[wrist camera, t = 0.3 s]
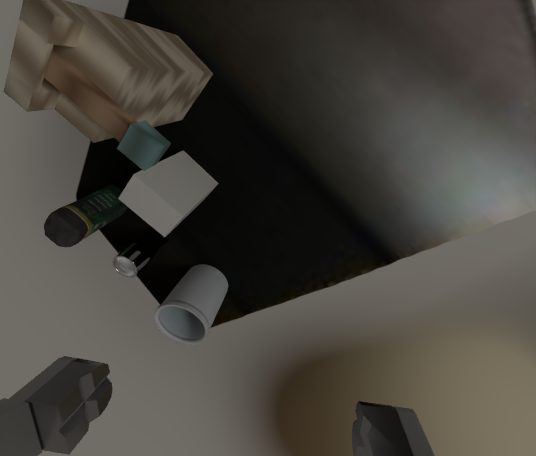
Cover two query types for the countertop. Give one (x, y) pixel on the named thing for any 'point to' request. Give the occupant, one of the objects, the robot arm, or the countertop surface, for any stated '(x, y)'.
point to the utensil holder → (192, 305)
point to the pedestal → (168, 191)
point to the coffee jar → (84, 216)
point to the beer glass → (139, 253)
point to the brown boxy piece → (103, 65)
